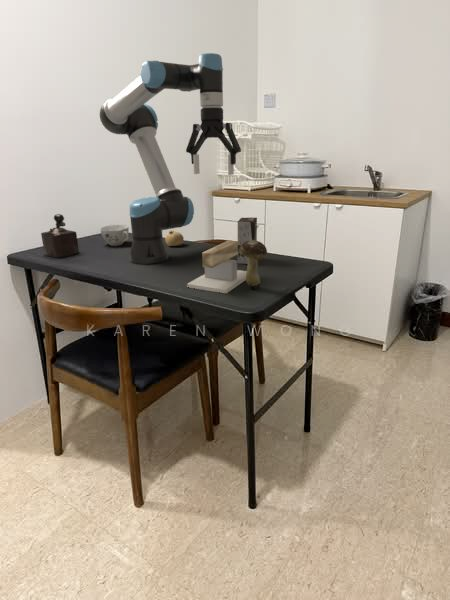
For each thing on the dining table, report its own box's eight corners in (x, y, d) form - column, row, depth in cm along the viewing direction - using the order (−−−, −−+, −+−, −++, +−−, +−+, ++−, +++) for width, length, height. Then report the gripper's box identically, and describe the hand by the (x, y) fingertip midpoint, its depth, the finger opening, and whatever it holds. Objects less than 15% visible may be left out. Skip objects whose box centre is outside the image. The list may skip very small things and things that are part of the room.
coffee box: (254, 264, 157) (254, 221, 151) (237, 263, 158) (236, 221, 152) (257, 258, 165) (257, 217, 159) (241, 257, 166) (241, 216, 161)
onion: (171, 243, 192) (170, 227, 189) (186, 244, 189) (186, 228, 187) (162, 247, 185) (161, 231, 182) (179, 248, 182) (178, 232, 180)
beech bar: (202, 266, 130) (202, 252, 128) (228, 253, 145) (228, 240, 143) (212, 268, 129) (212, 253, 127) (237, 254, 144) (237, 241, 142)
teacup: (96, 245, 190) (94, 227, 187) (118, 240, 199) (116, 223, 196) (117, 249, 181) (115, 231, 179) (139, 244, 191) (137, 226, 188)
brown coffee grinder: (42, 255, 175) (34, 212, 169) (65, 249, 184) (59, 208, 177) (63, 260, 167) (56, 215, 160) (87, 254, 175) (81, 211, 168)
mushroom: (243, 282, 138) (243, 237, 132) (269, 284, 135) (270, 238, 130) (236, 292, 129) (235, 244, 124) (263, 294, 127) (264, 246, 121)
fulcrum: (187, 287, 134) (186, 265, 131) (216, 270, 151) (216, 251, 148) (226, 293, 128) (225, 271, 125) (252, 275, 145) (252, 255, 142)
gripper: (173, 108, 141) (177, 174, 148) (241, 105, 130) (241, 175, 138) (185, 109, 147) (188, 172, 155) (250, 106, 136) (250, 174, 144)
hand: (213, 174), depth 146 cm, fingers open, 13 cm apart
